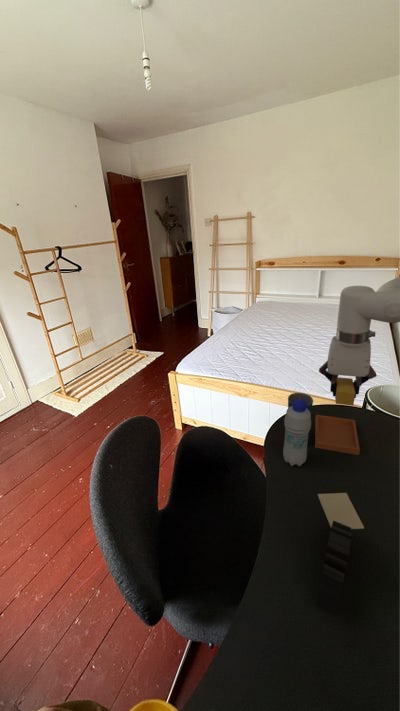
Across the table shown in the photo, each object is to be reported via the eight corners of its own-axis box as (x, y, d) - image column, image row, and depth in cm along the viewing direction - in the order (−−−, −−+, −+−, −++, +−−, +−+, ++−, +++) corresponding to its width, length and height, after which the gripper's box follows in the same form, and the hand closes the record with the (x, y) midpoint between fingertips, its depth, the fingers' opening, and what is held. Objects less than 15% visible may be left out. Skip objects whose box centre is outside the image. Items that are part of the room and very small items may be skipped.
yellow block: (334, 388, 89) (335, 377, 87) (350, 390, 87) (352, 378, 86) (335, 403, 82) (337, 391, 80) (353, 405, 81) (355, 393, 79)
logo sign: (332, 527, 66) (338, 492, 61) (349, 534, 64) (357, 498, 59) (313, 613, 52) (320, 577, 47) (335, 625, 50) (344, 589, 45)
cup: (285, 446, 89) (288, 405, 82) (285, 431, 94) (287, 391, 88) (309, 449, 87) (314, 407, 80) (307, 433, 93) (312, 393, 86)
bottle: (309, 456, 85) (316, 397, 76) (303, 472, 79) (310, 412, 71) (285, 448, 88) (289, 391, 79) (278, 464, 83) (282, 405, 74)
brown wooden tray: (315, 419, 99) (315, 414, 98) (353, 425, 95) (354, 420, 94) (314, 447, 87) (315, 442, 87) (358, 455, 84) (359, 449, 83)
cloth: (346, 493, 73) (346, 492, 73) (364, 528, 65) (364, 527, 65) (317, 494, 73) (317, 494, 73) (331, 530, 65) (331, 529, 65)
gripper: (386, 331, 77) (375, 391, 85) (316, 328, 83) (312, 385, 90) (392, 342, 71) (379, 406, 78) (316, 339, 76) (311, 398, 84)
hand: (343, 394), depth 84 cm, fingers closed on yellow block, 4 cm apart
